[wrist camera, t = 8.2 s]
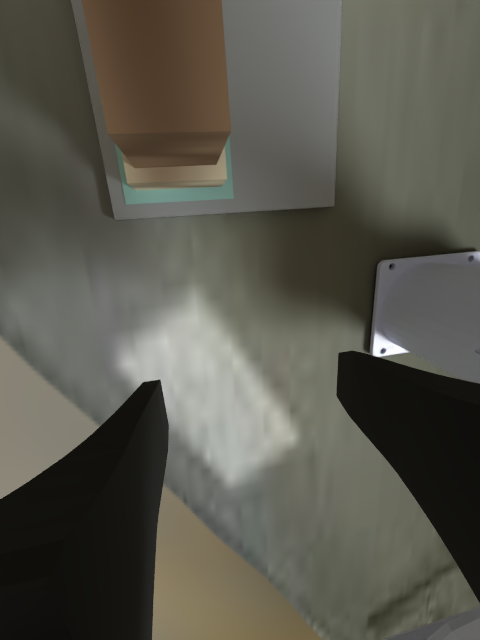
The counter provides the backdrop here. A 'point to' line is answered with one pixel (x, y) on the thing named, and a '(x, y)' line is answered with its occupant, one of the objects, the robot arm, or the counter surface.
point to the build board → (254, 114)
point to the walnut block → (162, 78)
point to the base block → (176, 176)
